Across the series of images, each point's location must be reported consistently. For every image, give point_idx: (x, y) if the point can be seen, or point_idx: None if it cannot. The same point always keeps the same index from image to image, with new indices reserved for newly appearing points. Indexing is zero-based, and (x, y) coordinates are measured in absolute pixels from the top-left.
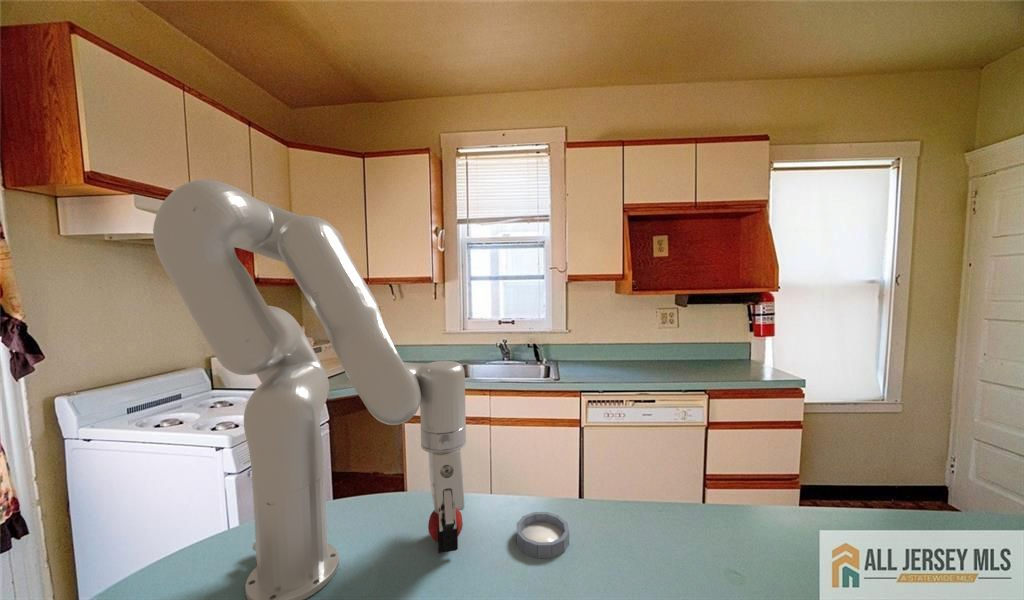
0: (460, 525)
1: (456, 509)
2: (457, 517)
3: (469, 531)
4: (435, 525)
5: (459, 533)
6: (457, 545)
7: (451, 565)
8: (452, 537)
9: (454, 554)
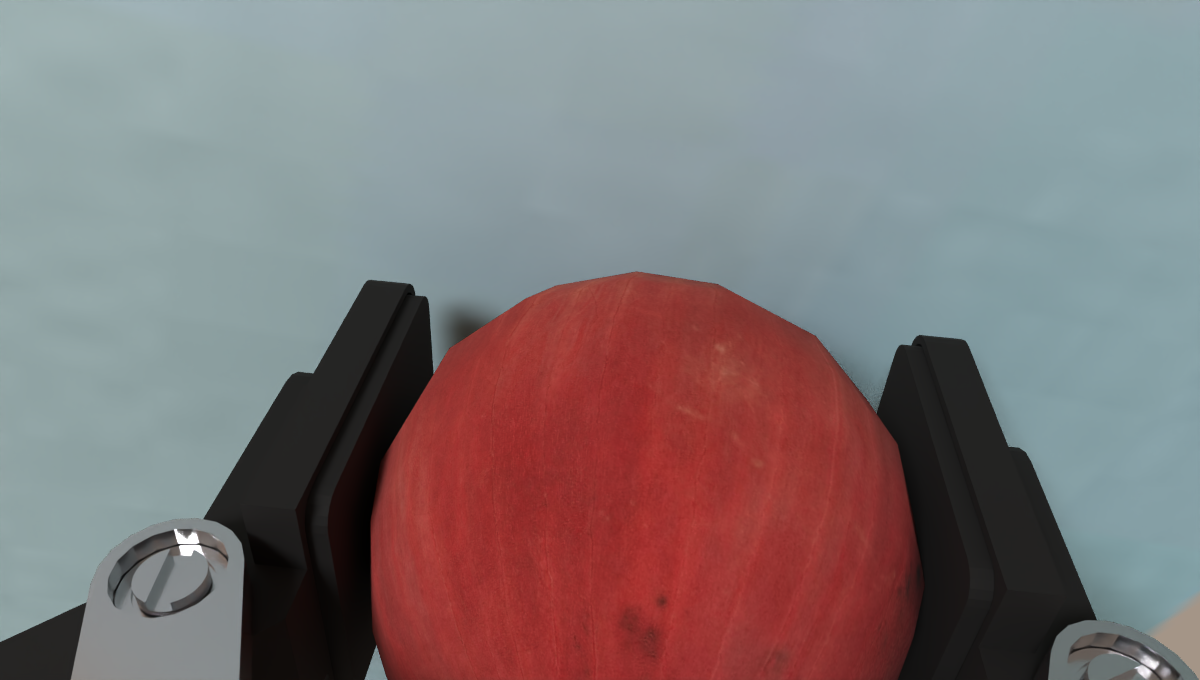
0: (846, 419)
1: (681, 621)
2: (828, 566)
3: (487, 13)
4: None
5: (819, 344)
6: (976, 370)
7: (1029, 360)
8: (1066, 563)
9: (870, 297)
